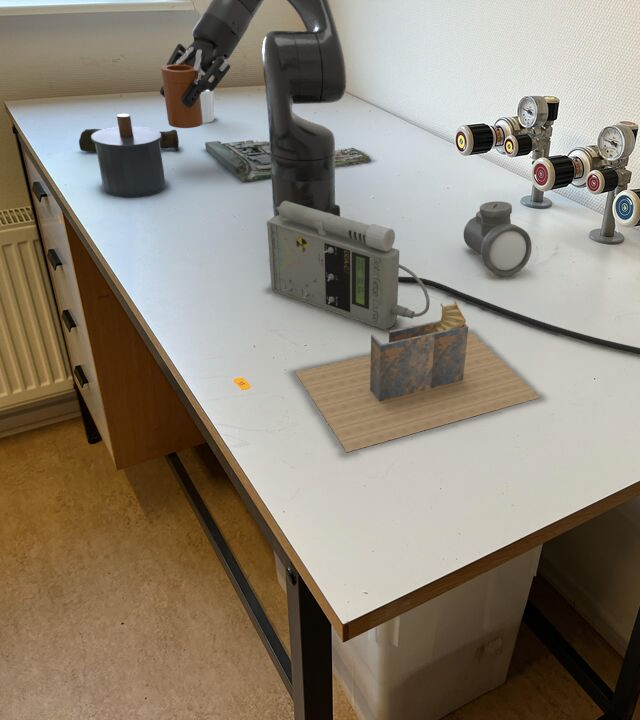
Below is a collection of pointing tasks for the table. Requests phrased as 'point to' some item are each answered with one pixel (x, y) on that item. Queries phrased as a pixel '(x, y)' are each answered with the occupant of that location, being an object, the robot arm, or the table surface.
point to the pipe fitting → (498, 239)
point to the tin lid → (126, 135)
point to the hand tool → (85, 141)
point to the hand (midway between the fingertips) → (174, 100)
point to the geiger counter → (337, 264)
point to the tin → (131, 170)
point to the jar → (180, 96)
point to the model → (264, 158)
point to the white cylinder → (207, 106)
